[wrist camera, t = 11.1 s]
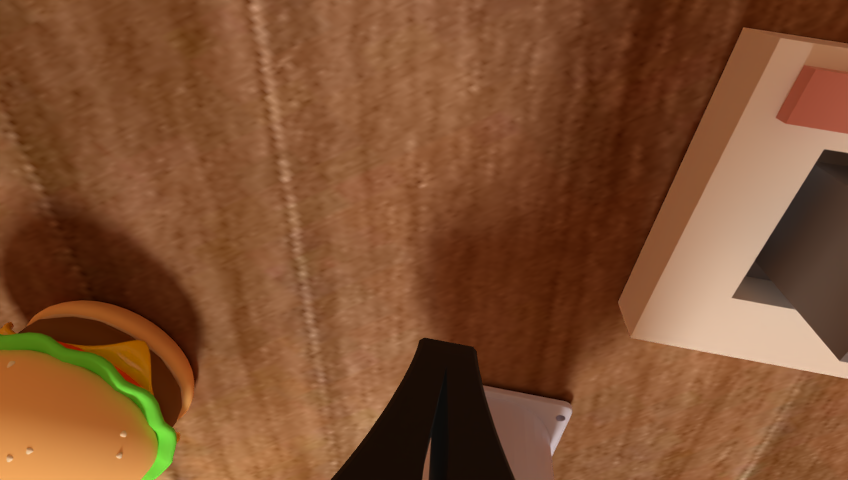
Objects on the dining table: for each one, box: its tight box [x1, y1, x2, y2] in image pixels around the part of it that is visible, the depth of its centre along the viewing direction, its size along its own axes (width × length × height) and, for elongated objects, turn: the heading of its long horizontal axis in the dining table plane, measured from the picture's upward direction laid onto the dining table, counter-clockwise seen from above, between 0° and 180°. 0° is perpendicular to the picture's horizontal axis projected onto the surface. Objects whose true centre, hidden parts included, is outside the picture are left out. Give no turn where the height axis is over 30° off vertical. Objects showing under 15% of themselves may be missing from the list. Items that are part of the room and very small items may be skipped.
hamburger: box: [0, 300, 194, 480], centre depth 25 cm, size 12×12×9 cm
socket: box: [618, 27, 848, 378], centre depth 17 cm, size 12×12×3 cm
